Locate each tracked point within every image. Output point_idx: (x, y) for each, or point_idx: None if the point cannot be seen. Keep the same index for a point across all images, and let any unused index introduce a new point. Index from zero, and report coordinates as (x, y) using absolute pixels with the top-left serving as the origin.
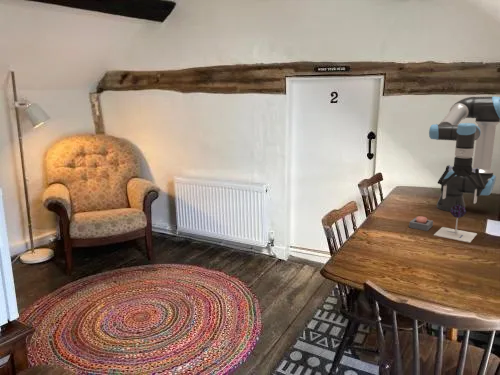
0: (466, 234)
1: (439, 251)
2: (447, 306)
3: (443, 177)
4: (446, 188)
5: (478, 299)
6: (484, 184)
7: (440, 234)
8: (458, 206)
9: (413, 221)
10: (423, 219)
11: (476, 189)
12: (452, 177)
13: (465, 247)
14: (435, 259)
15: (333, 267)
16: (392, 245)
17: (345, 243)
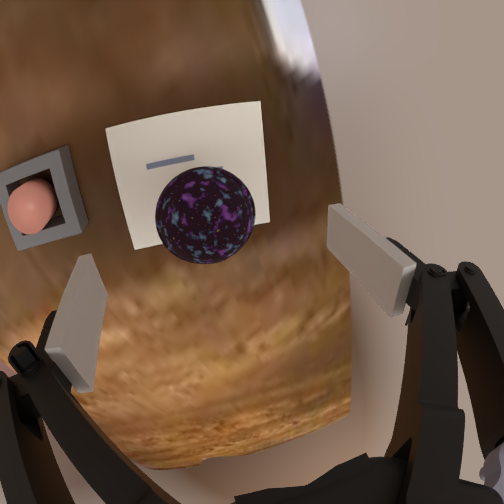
0: (229, 146)
1: (224, 345)
2: (305, 435)
3: (60, 480)
4: (70, 315)
5: (333, 409)
6: (487, 288)
7: (150, 228)
8: (219, 255)
9: (20, 232)
10: (45, 224)
11: (402, 298)
12: (169, 495)
13: (269, 271)
14: (239, 379)
15: (147, 463)
16: (122, 386)
17: None
